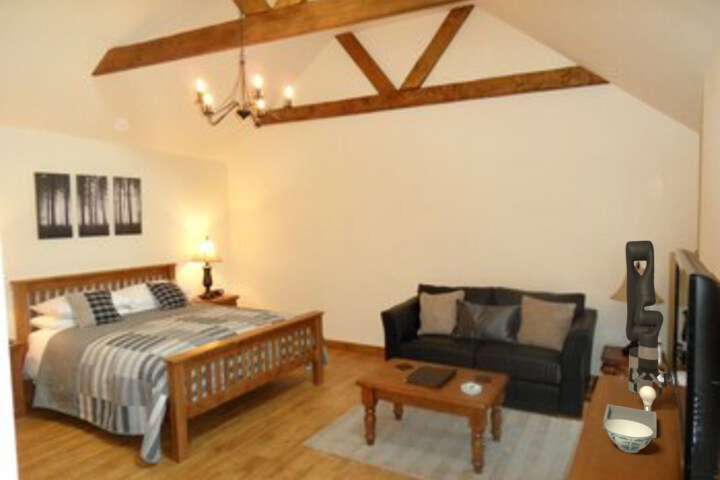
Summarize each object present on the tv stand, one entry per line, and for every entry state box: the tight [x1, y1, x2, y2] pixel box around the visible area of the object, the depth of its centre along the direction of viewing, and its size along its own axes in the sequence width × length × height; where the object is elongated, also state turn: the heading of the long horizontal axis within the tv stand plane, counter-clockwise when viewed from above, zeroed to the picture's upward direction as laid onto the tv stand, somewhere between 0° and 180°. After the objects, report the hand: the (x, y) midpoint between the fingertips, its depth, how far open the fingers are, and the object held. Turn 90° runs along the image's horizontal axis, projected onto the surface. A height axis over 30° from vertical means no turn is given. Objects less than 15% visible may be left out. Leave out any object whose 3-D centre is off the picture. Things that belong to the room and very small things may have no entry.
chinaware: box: [605, 419, 653, 454], centre depth 178 cm, size 15×15×8 cm
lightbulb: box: [638, 386, 657, 411], centre depth 212 cm, size 6×6×11 cm
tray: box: [602, 403, 657, 439], centre depth 198 cm, size 18×18×4 cm
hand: (647, 394), depth 212 cm, fingers open, 8 cm apart
